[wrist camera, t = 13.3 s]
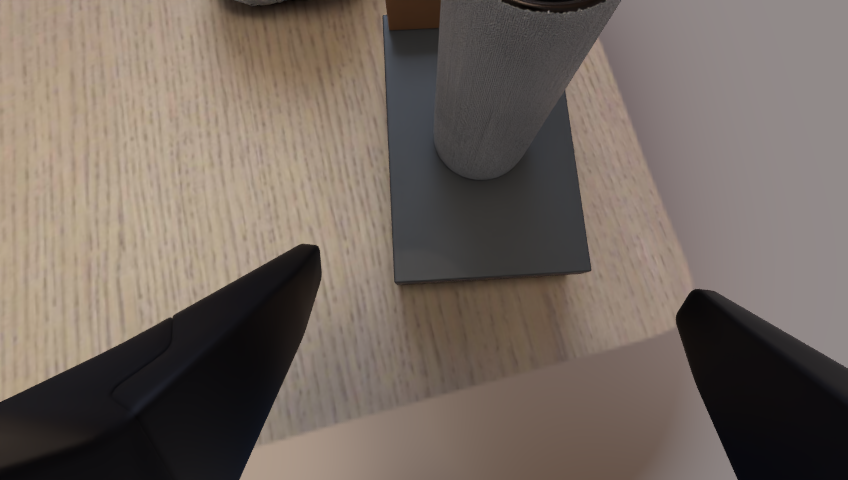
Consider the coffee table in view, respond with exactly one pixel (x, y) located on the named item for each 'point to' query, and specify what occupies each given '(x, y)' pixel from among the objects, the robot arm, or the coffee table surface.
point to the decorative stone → (259, 2)
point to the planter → (505, 75)
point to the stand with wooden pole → (471, 180)
